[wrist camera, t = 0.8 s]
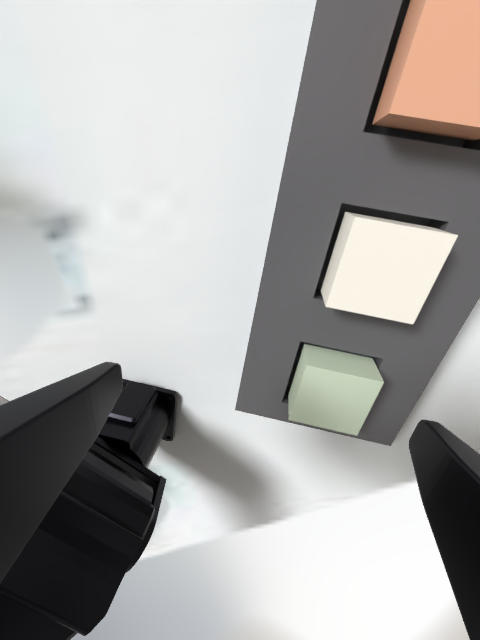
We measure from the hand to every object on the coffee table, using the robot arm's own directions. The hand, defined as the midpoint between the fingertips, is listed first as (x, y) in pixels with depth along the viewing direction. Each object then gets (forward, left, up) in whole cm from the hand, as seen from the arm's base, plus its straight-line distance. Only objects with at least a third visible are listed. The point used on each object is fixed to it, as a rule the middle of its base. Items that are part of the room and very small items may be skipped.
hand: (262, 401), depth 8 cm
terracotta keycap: (+11, -5, -10) cm, 16 cm away
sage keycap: (-6, -5, -10) cm, 13 cm away
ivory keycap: (+3, -5, -10) cm, 12 cm away
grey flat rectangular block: (+3, -5, -13) cm, 14 cm away
